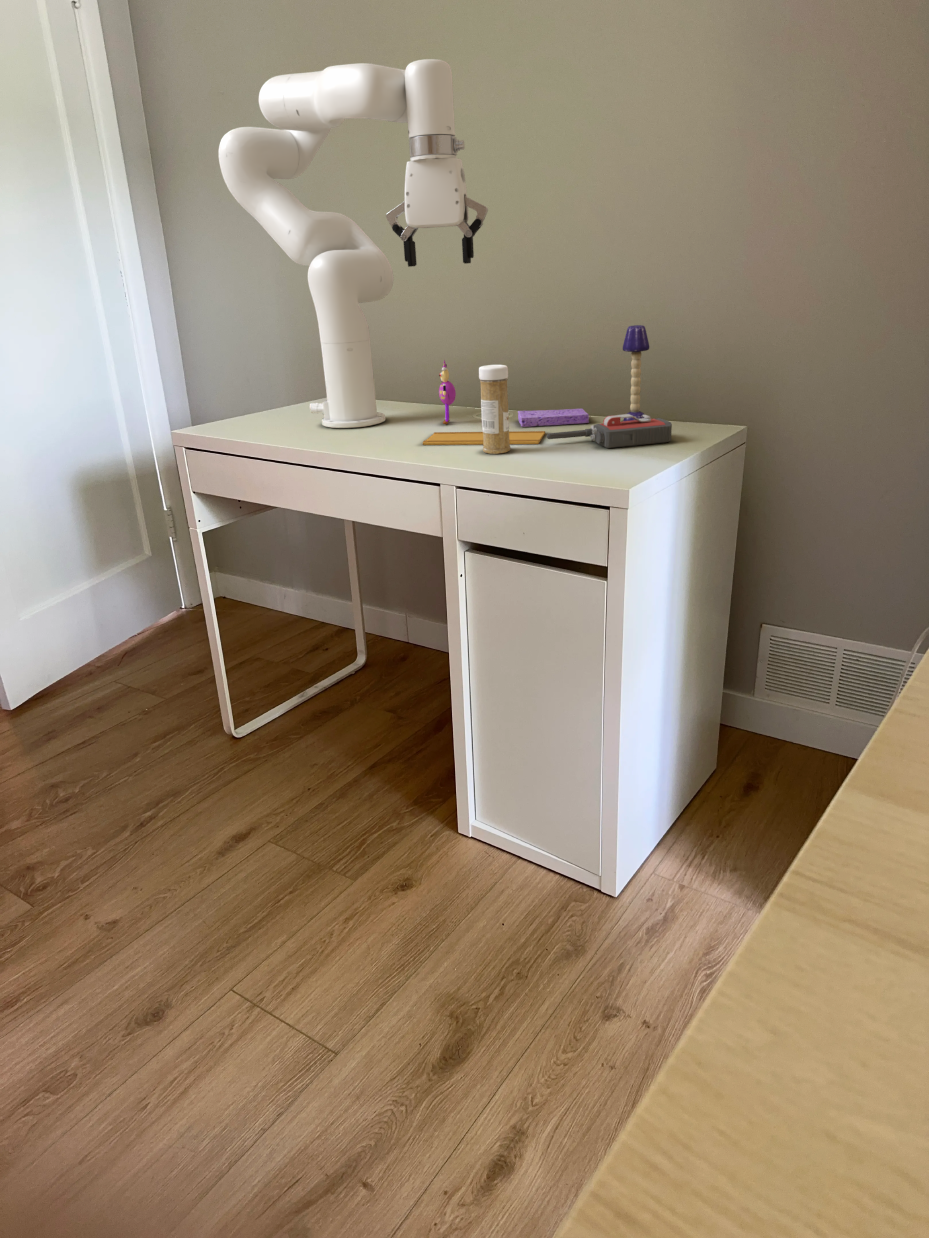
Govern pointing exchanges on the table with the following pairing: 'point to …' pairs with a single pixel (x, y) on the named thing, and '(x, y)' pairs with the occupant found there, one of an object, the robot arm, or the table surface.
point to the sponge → (552, 417)
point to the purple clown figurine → (446, 391)
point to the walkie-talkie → (623, 431)
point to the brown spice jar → (494, 408)
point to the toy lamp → (635, 365)
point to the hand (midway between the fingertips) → (439, 264)
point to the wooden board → (481, 438)
